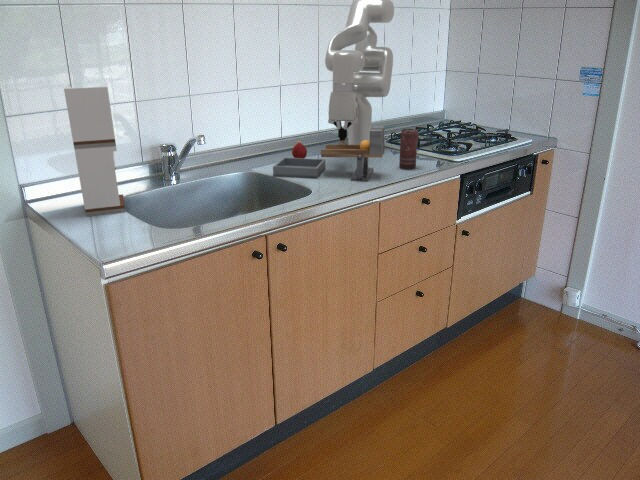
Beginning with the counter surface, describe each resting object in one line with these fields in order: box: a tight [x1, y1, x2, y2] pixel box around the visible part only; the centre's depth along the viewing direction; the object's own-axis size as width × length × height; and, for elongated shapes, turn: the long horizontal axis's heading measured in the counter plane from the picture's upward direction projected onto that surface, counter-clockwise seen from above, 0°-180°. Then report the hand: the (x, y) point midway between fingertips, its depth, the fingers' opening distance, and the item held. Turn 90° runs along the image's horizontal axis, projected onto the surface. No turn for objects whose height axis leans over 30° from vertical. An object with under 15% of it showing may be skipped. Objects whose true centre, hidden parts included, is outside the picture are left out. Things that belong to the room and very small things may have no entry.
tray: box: [272, 157, 327, 179], centre depth 198 cm, size 14×16×4 cm
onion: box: [291, 140, 308, 158], centre depth 213 cm, size 6×6×8 cm
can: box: [398, 128, 419, 171], centre depth 201 cm, size 6×6×14 cm
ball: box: [360, 140, 370, 150], centre depth 190 cm, size 4×4×4 cm
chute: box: [320, 125, 385, 159], centre depth 194 cm, size 17×21×9 cm
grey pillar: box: [63, 82, 126, 217], centre depth 155 cm, size 11×11×35 cm
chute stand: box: [350, 154, 375, 182], centre depth 193 cm, size 15×6×9 cm, turn 168°
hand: (342, 139), depth 202 cm, fingers closed
